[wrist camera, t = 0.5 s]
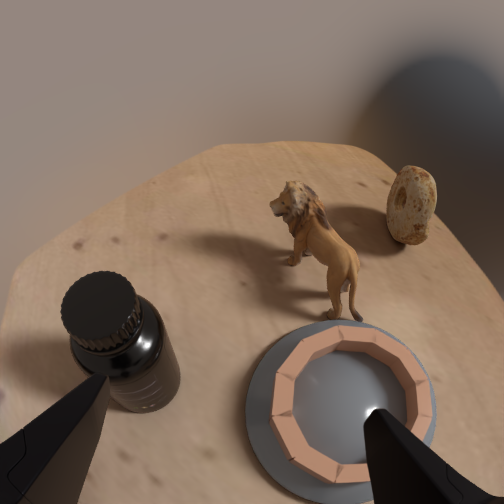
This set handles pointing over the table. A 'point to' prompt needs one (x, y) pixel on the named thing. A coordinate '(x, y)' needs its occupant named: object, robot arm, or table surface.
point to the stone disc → (411, 205)
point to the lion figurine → (318, 242)
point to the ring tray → (332, 406)
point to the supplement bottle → (121, 341)
